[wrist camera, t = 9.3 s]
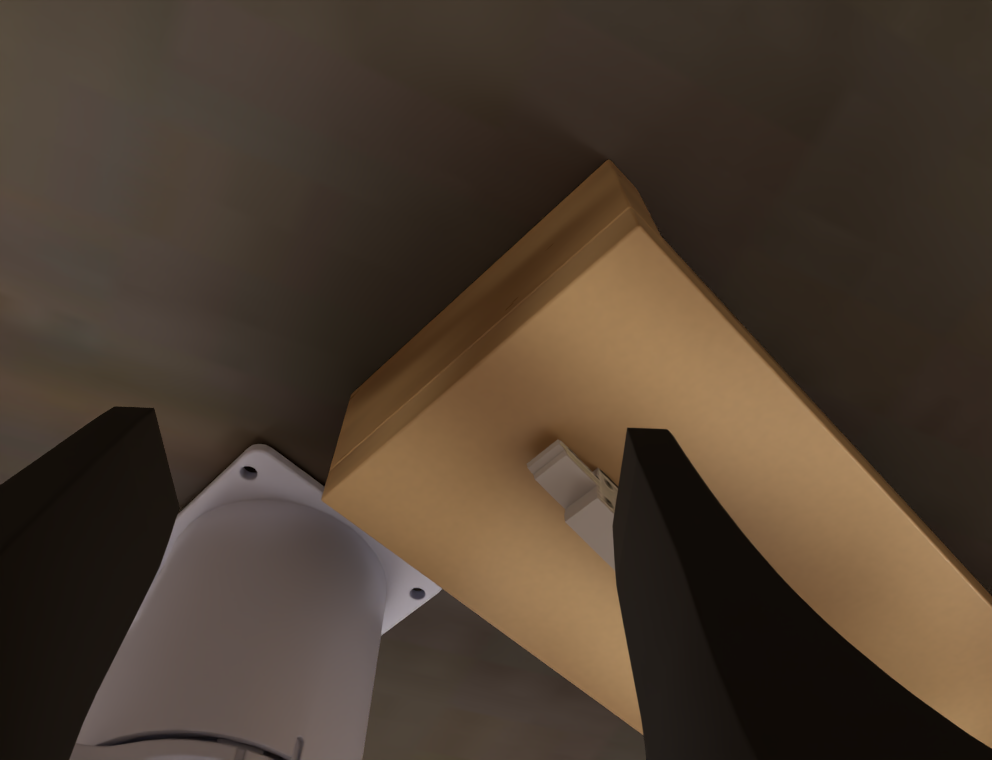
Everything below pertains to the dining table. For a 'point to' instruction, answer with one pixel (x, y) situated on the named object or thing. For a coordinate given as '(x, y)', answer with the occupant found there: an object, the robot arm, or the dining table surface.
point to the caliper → (579, 496)
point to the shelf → (600, 444)
